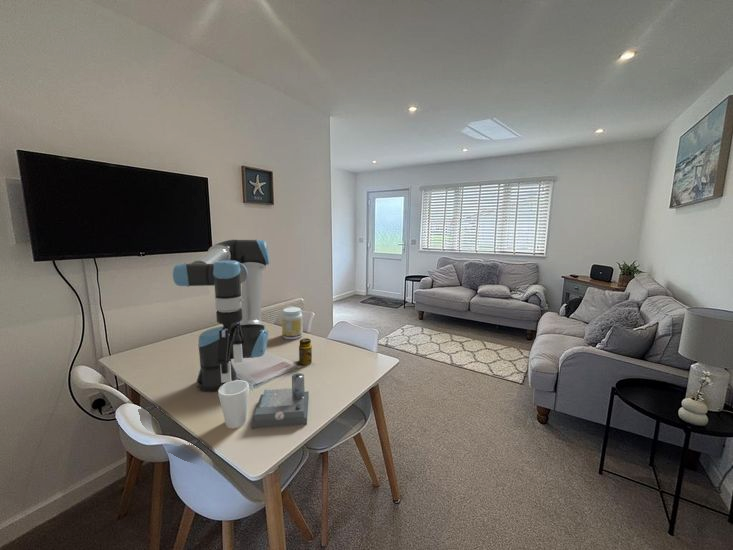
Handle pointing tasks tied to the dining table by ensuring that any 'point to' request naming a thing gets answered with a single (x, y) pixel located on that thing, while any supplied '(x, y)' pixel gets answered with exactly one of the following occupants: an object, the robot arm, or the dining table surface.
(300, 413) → the scale base
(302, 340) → the condiment
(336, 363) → the dining table surface
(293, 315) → the supplement tub
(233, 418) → the foam cup
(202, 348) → the robot arm
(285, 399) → the scale weighing pan
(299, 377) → the cylinder
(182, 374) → the dining table surface
